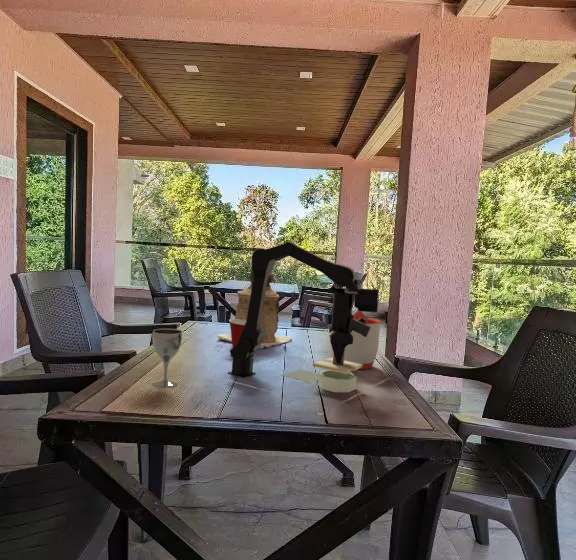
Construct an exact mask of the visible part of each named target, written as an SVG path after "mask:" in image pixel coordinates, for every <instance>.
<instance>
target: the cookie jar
mask: <svg viewBox="0 0 576 560" xmlns="http://www.w3.org/2000/svg"><path fill="white" fill-rule="evenodd" d="M250 270H251V271H250V275H249V279H250V285H249V286H248V287H246V288H244V289H243V290H238V291H237V297H238V302H237V306H236V312H235V316H234V319H240V320H247V314H248V308H249V302H250V296H251V290H252V283H253V272H252V265H251V266H250ZM274 280H275V278H274V274H272V273H270V275H269V277H268V280H267V286H266V292H265V298H264V304H263V310H262V316H261V322H260V324H261V329H265V334H264V342H263V343H261V346H260V347H259V348H258V349H260V348H263V349H264V348H271V347H272V346H278V345H282V344H285V343H289V342H291V341H293V337H291V336H287V335H281V334H276V333H277V331H278V324H279V308H280V303H279V300H280V295H279V294H278V293H277V292H276V290H274V289H272V288H271V283H273V282H274ZM217 338H218V341H221V340H223V341H226V342H227V341H228V342H231V343H232V338H231V332H230V333H220V334H217Z"/></svg>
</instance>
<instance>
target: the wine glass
mask: <svg viewBox="0 0 576 560" xmlns="http://www.w3.org/2000/svg"><path fill="white" fill-rule="evenodd" d="M182 338H183V330H182V329H178V328H156V329H153V330H152V346H153V349H154V350H153V351H154V352H155V353H156V355H157V356H158V358H160V360H161V361H162V364H163V379H158V380H154V381H153V382H152V383H151V385H152V386H153V387H155V388H163V389H164V388H173V387H176V386H178V385H179V383H178V382H177V381H176V380H171V379H168V368H169V364H170V362H171V360H172V359H173V358H174V357H175V356H176V355H178V352H180V348H181V345H182V340H183V339H182Z"/></svg>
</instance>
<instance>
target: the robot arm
mask: <svg viewBox="0 0 576 560" xmlns="http://www.w3.org/2000/svg"><path fill="white" fill-rule="evenodd" d="M287 257H290V258H292V259H294V260H297V261H298V262H301V263H303V264H305V265H306V266H309V267H311V268H313V269H315V270H317V271H318V272H321V273H322V274H324V276H326V277H327V278H328V279H329V280H330V281H332V282H333V283H334V284H333V285H331V287H330V288H329V289H327V291H326V292H327V293H328V294H333V298H332V299H333V301H332V309H331V310H332V311H331V323H330V324H329V327H328V333H329V342H330V345H331V349H332V352H333V354H334V356H335V359H336V363H340V362H341V359H342V356H343V353H344V350H345V347H346V346H347V345H349V344H353V335H352V334H351V333H350V332H352V330H353V331H355V332H357V333H359V334H361V335H362V336H364V337H367V335H368V333H369V330H370V328H371V327H370V326H369V325H368V324H366V321H365V319H363V318H361V317H360V318H359V319H358V320H357V319H354V318H353V315H354V314H353V303H354V308H356V309H357V311H361V312H363V313H365V312H366V313H375V314H378V311H379V303H380V299H379V291H380V290H379V289H378V288H371V289H370V288H362V287H361V285H360V283H358V281H357V280H356V272H355V270H354V269H353V268H352V267H350V266H348V265H344V264H340V263H336V262H332V261H329V260H327V259H325V258H323V257H321V256H319V255H317V254H314V252H311V251H309V250H308V249H305V248H302V247H301V246H299V245H297V244H296V243H294V242H293V241H286V242H284V243H283V244H279V245H277V246H272V247H270V248H258V249H255V251H253V253H252V255H251V266H252V272H253V283H252V290H251V296H250V302H249V308H248V314H247V320H246V323H245V325H244V327H243V329H242V331H241V334H240V337H239V340H238V344H237V345H236V346H234V347H233V346H232V347H231V349H230V350H229V352H230V357H231V358H232V361H231V362H232V363H231V364H232V365H231V371H229V372H227V374H228V375H231V376H235V377H239V378H243V379H244V378H247V377H251V376H254V375H256V374H257V373H256V372H254V371H253V370H254V369H253V368H254V367H253V366H254V354H255V352H256V351H257V350H258V349H260V348H259V347H260V346H261V343H263V342H264V334H265V329H261V324H260V322H261V316H262V310H263V304H264V298H265V292H266V286H267V280H268V277H269V275H270V274H272V271H273V269H274V266H275V263H276V262H277V261H280V260H282V259H285V258H287ZM336 285H337V286H339V287H337V286H336ZM347 289H348V290H349V291H347Z"/></svg>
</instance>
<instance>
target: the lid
mask: <svg viewBox="0 0 576 560" xmlns="http://www.w3.org/2000/svg"><path fill="white" fill-rule="evenodd" d="M344 353H345V350H344ZM344 353H343V356H342V359H341V362H340V363H336V359H335V356H334V353H333V356H332V357H327V358H325V359H323V360H318V361H316V362H313V363H312V367H314V368H319V369H323V370H331V371H336V372H340V373H344V374H347V373H352V372H355V371H356V370H360V369H359V368H362V367H363V364H359V363H354V362H349V361H345V360H344Z"/></svg>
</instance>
